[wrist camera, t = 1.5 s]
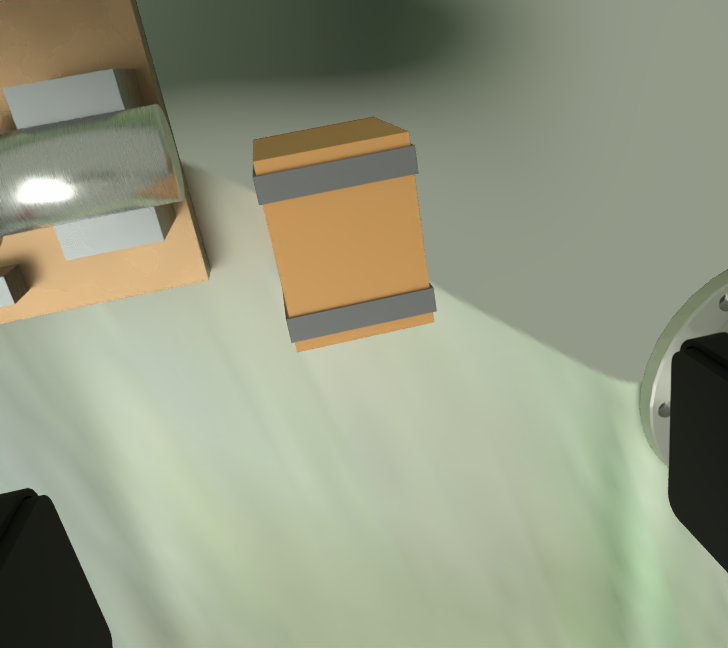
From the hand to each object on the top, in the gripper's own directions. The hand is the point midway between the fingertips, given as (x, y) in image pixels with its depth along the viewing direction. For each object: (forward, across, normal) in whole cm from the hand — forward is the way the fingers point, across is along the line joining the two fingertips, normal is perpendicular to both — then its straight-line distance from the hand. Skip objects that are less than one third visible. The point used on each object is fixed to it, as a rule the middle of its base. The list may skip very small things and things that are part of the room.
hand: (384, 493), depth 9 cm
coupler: (+17, -1, -1) cm, 17 cm away
